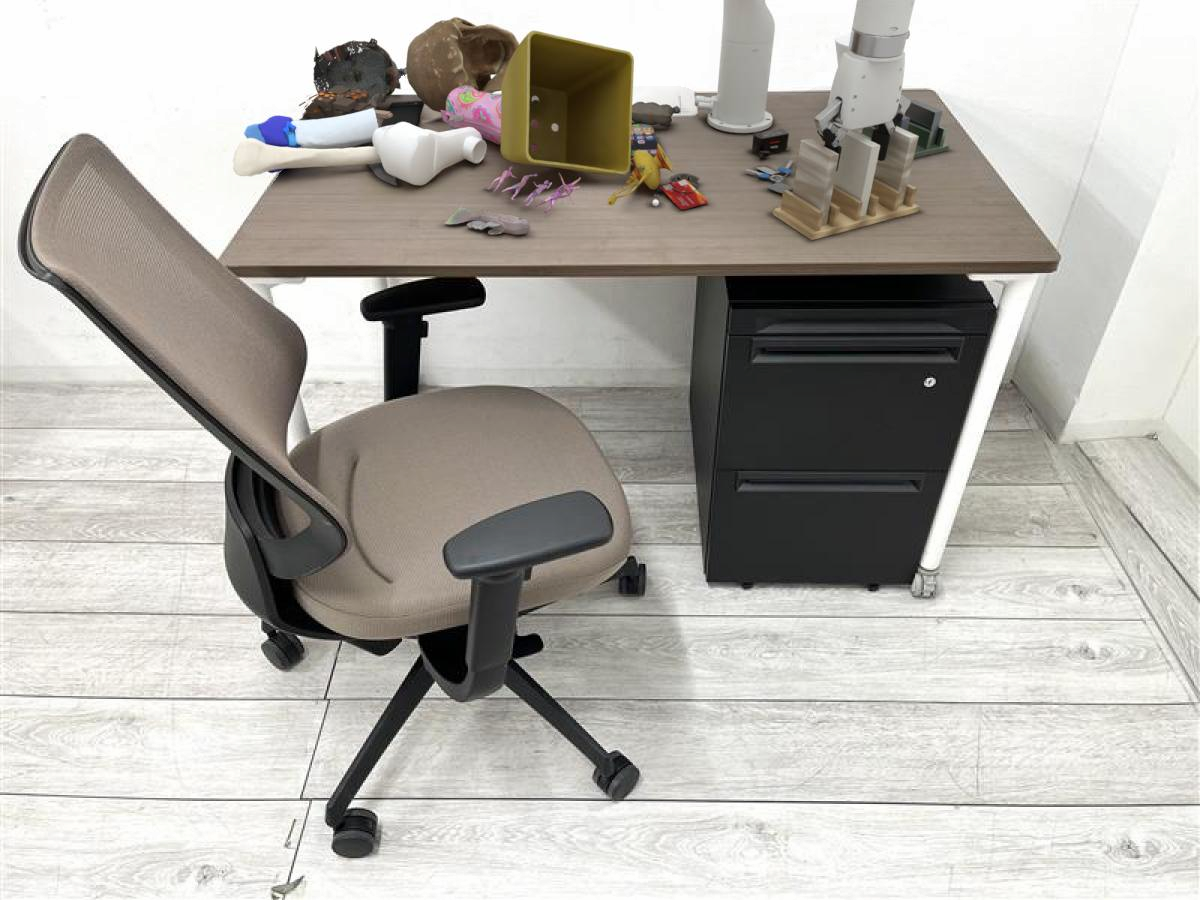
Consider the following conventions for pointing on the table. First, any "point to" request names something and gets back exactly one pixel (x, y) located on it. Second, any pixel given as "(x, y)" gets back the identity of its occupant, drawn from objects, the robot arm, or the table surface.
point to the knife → (380, 169)
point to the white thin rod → (656, 202)
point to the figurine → (358, 70)
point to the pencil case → (477, 113)
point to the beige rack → (834, 210)
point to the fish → (490, 221)
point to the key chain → (778, 182)
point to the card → (683, 194)
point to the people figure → (540, 188)
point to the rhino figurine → (653, 113)
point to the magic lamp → (644, 171)
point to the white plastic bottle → (425, 150)
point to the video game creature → (339, 104)
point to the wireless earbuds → (770, 142)
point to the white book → (857, 167)
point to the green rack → (919, 128)
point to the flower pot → (568, 105)
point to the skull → (458, 59)
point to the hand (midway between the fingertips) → (852, 163)
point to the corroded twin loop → (689, 177)
